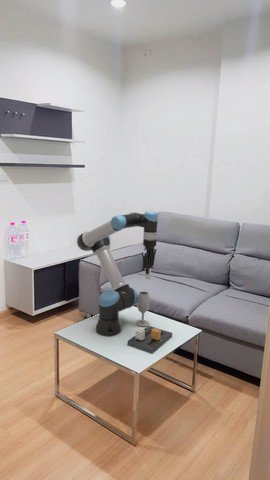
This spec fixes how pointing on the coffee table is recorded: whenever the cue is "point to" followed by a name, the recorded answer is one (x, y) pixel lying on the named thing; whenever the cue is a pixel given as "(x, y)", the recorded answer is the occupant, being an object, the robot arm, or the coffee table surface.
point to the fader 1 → (140, 334)
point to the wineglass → (143, 307)
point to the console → (150, 340)
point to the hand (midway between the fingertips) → (148, 278)
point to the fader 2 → (155, 334)
